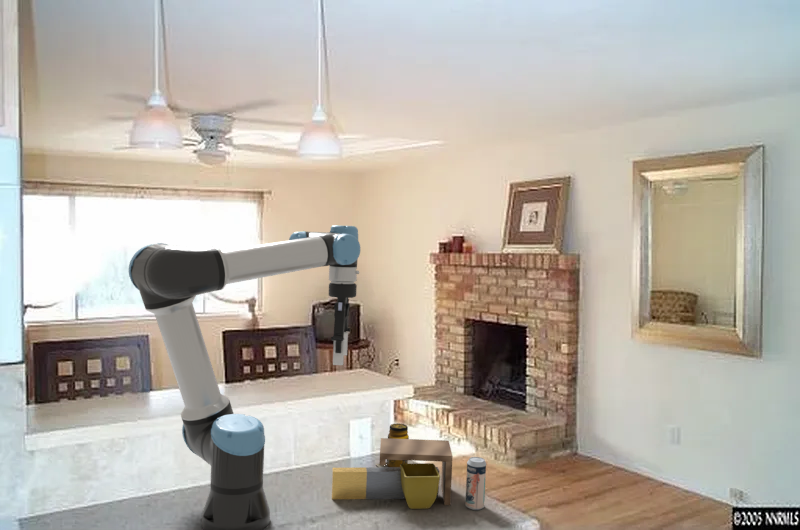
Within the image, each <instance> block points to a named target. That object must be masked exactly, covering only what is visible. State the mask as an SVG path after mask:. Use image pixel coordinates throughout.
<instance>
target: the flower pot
mask: <svg viewBox="0 0 800 530" xmlns="http://www.w3.org/2000/svg"><path fill="white" fill-rule="evenodd" d="M436 467H437V466H436V465H435V464H434V463H426V462H425V463H408V464H400V469H401V484H402V489H403V493H404V495H405V498H406V499H405V501H406V504H407V506H408V508H409V509H411V510H414V509H418V510H419V509H420V510H421V509H422V510H425V509H426V510H427V509H430V508H431V507H432V506H433V505H434V503H435V501H436V499H437V498H436V496H437V492H438V486H439V485H440V480H441V475H440V472H439V473H438V471H437V469H436ZM439 487H440V486H439Z"/></svg>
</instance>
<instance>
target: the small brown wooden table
mask: <svg viewBox="0 0 800 530" xmlns="http://www.w3.org/2000/svg"><path fill="white" fill-rule="evenodd" d="M379 445H380V446H379V447H380V448H379V462H378V464H379V465H386V462H387V460H408V461H413V462H414V461H417V462H441V475H440V480H441V482H440V489H441V493H442V498H443V499H442V500H443V505H444V506H451V499H452V498H451V496H452V476H453V473H452V472H453V452H452V448H451V444H450V440H444V439H442V440H441V439H439V440H438V439H420V438H419V439H416V438H415V439H414V438H413V439H412V438H411V439H410V438H409V439H391V438H388V437H385V438H384V437H382V438H380V444H379Z"/></svg>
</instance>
